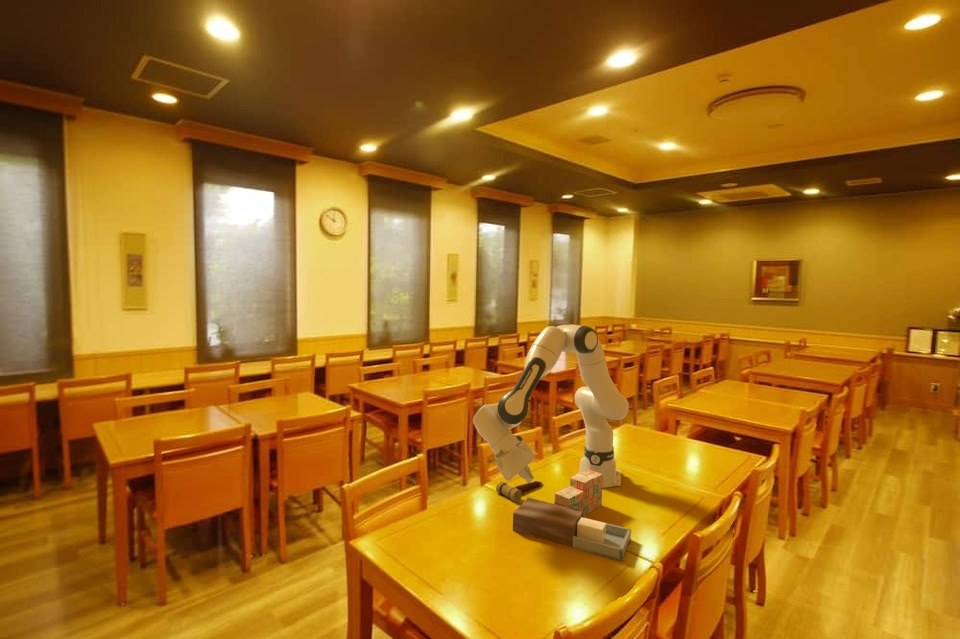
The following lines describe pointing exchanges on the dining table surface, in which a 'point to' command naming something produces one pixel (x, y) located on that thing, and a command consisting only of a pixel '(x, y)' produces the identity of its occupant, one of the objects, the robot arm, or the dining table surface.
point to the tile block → (591, 530)
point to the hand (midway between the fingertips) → (531, 480)
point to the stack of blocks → (582, 492)
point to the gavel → (515, 489)
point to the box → (607, 543)
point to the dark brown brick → (547, 521)
